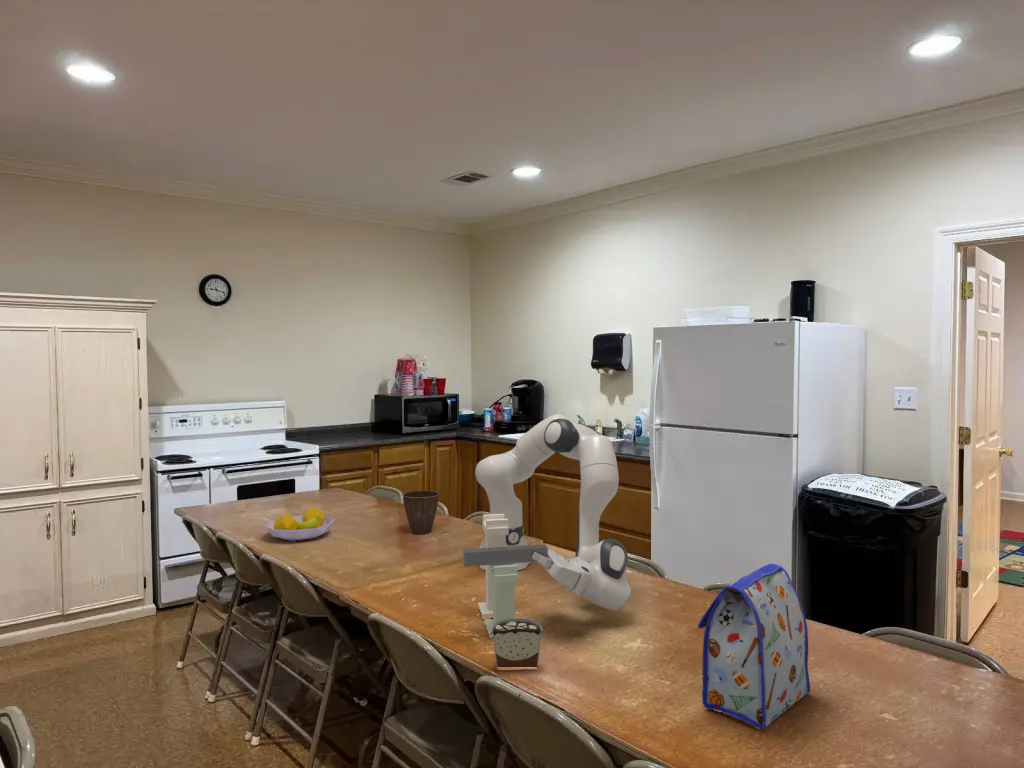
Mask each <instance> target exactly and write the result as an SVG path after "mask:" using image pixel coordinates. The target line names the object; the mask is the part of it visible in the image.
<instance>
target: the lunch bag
mask: <svg viewBox="0 0 1024 768" xmlns="http://www.w3.org/2000/svg"><path fill="white" fill-rule="evenodd" d="M790 577H791V576H790V575H789V573H788V571H786V569H785V568H784V567H783V566H781V565H780V564H775V563H768V564H765V565H763V566H761V567H760V568H758V569H755V570H754V571H752V572H751V573H749V574H746V575H743V576H741V577H740V578H739V579H738V580H736V581H735V582H733V583H730V584H728V585H726V586H725V587H724V588H723V589H721V591H720V592H719V593H718V594H717V596H715V598H714V600H713V601H712V602H711V604H710V605H709V607H708V608H707V610H706V611H705V612H704V614H703V615H702V617H701V618H700V620H699V622H698V624H697V628H698V629H700V630H701V629H704V632H703V643H702V674H701V675H702V676H701V677H702V681H701V682H702V690H701V691H702V693H701V694H702V695H701V698H702V701H701V702H702V705H703V707H704V708H705V709H707V710H709V709H715V710H719V711H722V712H724V713H726V714H729V715H730V716H732V717H731V718H733V717H734V719H736V720H741V721H742V722H744V723H747V724H749V725H750V726H752V725H753V726H755V727H757V728H758V727H759V729H760V730H759V731H763V730H765V729H766V728H767V727H769V726H770V724H771V723H773V721H775V720H776V719H778V717H780V716H781V715H782V714H784V713H785V712H786V711H787V710H788V709H790V708H791V707H792V706H793V705H794V703H795V704H796V703H798V702H799V701H800V700H801V699H802V698H803V697H805V696H806V695H808V694H809V693H810V691H811V682H810V675H809V667H808V666H809V665H808V663H809V634H808V633H809V632H808V623H807V619H806V615H805V610H804V607H803V605H802V602H801V599H800V598H801V597H800V596H799V595H798V592H797V590H796V589H795V586H794V585H793V582H792V580H791V578H790ZM807 693H808V694H807ZM730 716H729V717H730ZM753 726H752V727H753ZM755 727H754V728H755ZM757 728H756V729H757Z"/></svg>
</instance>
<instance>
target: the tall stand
mask: <svg viewBox="0 0 1024 768" xmlns="http://www.w3.org/2000/svg"><path fill="white" fill-rule="evenodd" d="M481 525H482V530H483V531H484V536H485V537H484V539H485V548H492V547H506V535H509V527H508V519H504V514H490V513H489V514H483V515H482V524H481ZM489 566H490V565H486V570H485V601H484V602H483V601H482V602H477V608H478V607H479V609H480V612H481V615H482V617H490V616H493V579H492V577H491V575H490V569H489ZM479 609H478V610H479ZM480 612H479V613H480ZM481 615H480V616H481ZM482 617H481V618H482Z"/></svg>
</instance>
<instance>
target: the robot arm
mask: <svg viewBox="0 0 1024 768" xmlns="http://www.w3.org/2000/svg"><path fill="white" fill-rule="evenodd" d="M555 453H557V454H559V455H562V456H564V457H566V458H568V459H571V460H572V459H573V460H576V461H579V467H580V469H579V471H580V492H579V493H580V494H579V495H580V496H579V500H578V501H579V502H578V510H577V541H576V543H577V544H576V545H577V546H576V550H575V551H576V552H575V555H574V556H573V557H572V558H565V557H564V556H563V555H562V554H559V552H557V551H554V550H553V549H551V548H549V547H548V558H547V557H544V556H542V555H540V554H539V553H537V552H535V551H534V552H533V553H532V555H531V557H532V558H533V559H534V560H536V561H538V562H537V563H539V564H541V566H543V567H544V569H545V570H546V571H547V573H548V574H549V576H551V577H552V579H554V580H555V581H557V582H558V583H560V585H561V587H562V588H563V589H565V590H567V591H569V592H571V593H572V594H574V595H575V596H579V597H583V598H586V599H587V600H588V601H589V602H590V603H592V604H595V605H597V606H599V607H601V608H604V609H606V610H608V611H613V612H614V611H618V610H620V609H623V608H624V606H625V605H626V604H627V603H628V602H629V600H630V598H631V596H632V595H631V594H632V589H631V586H630V584H629V581H628V580H629V579H628V573H627V571H628V570H627V565H628V560H629V556H628V551H627V549H626V548H625V546H624V545H623V544H622V543H621V542H620V541H618V540H617V539H614V538H606V539H603V540H601V541H600V539H599V538H600V520H601V517H602V514H603V512H604V510H605V509H606V507H607V506H608V505H609V504H610V502H611V501H612V499H613V498H614V497H615V495H617V492H618V490H619V482H620V481H619V480H620V479H619V478H620V477H619V466H618V461H617V455H616V452H615V449H614V446H613V443H612V440H611V439H610V438H609V437H608V436H606V435H603V434H602V433H600V432H599V431H597V430H595V429H592V428H590V427H588V426H586V425H584V424H580V423H578V422H576V421H575V422H574V421H571V420H570V419H568V417H566V416H565V415H562V414H559V413H557V414H552V415H551V416H549V417H547V418H544V419H543V420H542V421H539V422H538V423H537V424H535V425H534V426H533V427H532V428H531V429H529V430H528V431H526V432H525V433H524V434H523V435H521V436H520V437H519V438H518V439H517V440H516V443H515V446H514V447H513V448H512V449H511V450H508V451H506V452H503V453H500V454H494V455H489V456H486V457H485V458H483V459H482V460H480V461H478V463H477V464H476V466H475V478H476V481H477V483H478V484H479V485H480V486H482V488H483V489H484V490H485V492H486V496H487V498H488V502H489V515H490V514H504V519H508V527H509V535H506V547H507V546H523V545H528V541H527V539H526V538H525V537H524V535H525V532H524V531H525V528H524V524H523V503H522V501H521V500H520V498H518V497H517V496H516V493H515V490H514V485H516V484H519V483H522V482H524V481H526V480H528V479H529V478H531V477H532V476H533V474H534V473H535V470H536V469H537V468H538V467H539V465H541V464H542V463H543V462H545V461H546V460H547V459H549V458H550V457H552V456H553V455H554V454H555ZM599 541H600V542H599ZM477 548H485V538H484V539H483V540H482V541H481V542H480V545H479V546H478V547H477ZM531 563H532V562H524V563H513V565H517V571H521V570H524V569H525V568H528V565H530V564H531ZM479 568H480V569H481V570H483V571H486V565H480V566H479Z"/></svg>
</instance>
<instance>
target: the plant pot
mask: <svg viewBox="0 0 1024 768" xmlns="http://www.w3.org/2000/svg"><path fill="white" fill-rule="evenodd" d="M439 496H440V493H439V492H437V491H431V490H417V491H416V490H414V491H407V492H404V493H403V494H402V500H403V506H404V511H405V515H406V518H407V521H408V524H409V527H410V531H411V533H412V534H413V535H427V534H430V533H431V531H432V529H433V526H434V522H435V519H436V515H437V509H438V506H439V505H438V503H439V498H440V497H439Z"/></svg>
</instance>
